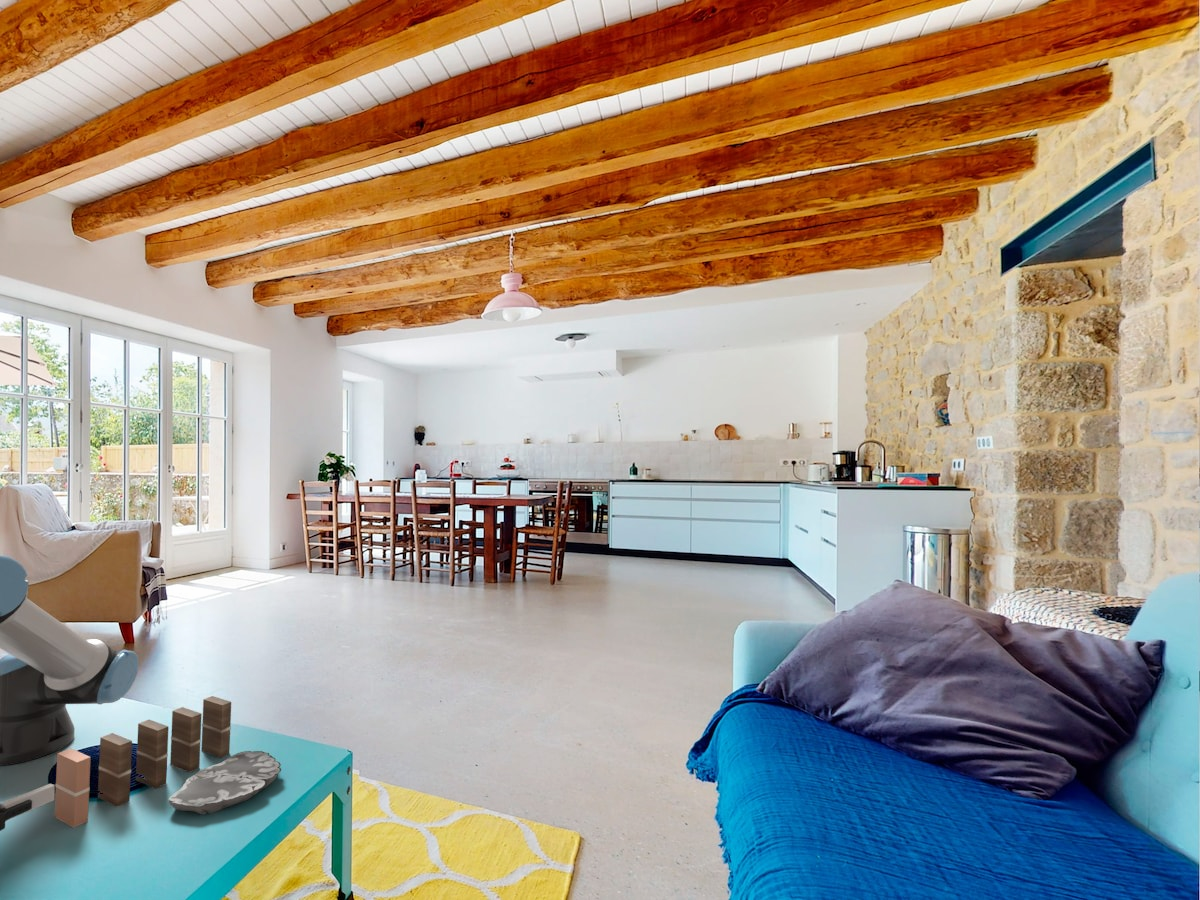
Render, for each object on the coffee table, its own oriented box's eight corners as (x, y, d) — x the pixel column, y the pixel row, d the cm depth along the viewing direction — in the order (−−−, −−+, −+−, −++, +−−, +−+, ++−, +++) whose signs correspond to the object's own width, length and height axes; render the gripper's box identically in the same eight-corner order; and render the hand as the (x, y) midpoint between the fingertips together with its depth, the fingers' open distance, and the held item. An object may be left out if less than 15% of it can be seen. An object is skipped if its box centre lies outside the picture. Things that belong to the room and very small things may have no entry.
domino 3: (155, 789, 112) (157, 730, 112) (135, 780, 115) (137, 723, 115) (166, 783, 114) (168, 726, 114) (146, 775, 117) (149, 719, 117)
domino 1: (73, 827, 100) (76, 762, 100) (54, 817, 103) (56, 753, 103) (88, 821, 102) (91, 756, 102) (68, 810, 105) (71, 748, 105)
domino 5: (220, 758, 124) (222, 705, 124) (201, 750, 127) (203, 699, 127) (229, 753, 126) (231, 701, 126) (210, 746, 128) (212, 695, 129)
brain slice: (234, 826, 102) (234, 810, 102) (152, 817, 103) (152, 802, 104) (301, 767, 121) (302, 754, 121) (231, 761, 123) (232, 748, 123)
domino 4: (189, 772, 118) (191, 717, 118) (169, 764, 121) (172, 710, 121) (199, 767, 120) (201, 713, 120) (180, 760, 123) (182, 706, 123)
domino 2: (117, 807, 106) (119, 745, 106) (97, 797, 109) (99, 737, 109) (129, 801, 108) (132, 740, 108) (110, 791, 111) (112, 732, 111)
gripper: (-182, 893, 80) (33, 802, 102) (-151, 925, 75) (69, 822, 97) (-180, 842, 80) (35, 762, 102) (-148, 870, 75) (71, 780, 97)
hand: (52, 791), depth 99 cm, fingers closed
